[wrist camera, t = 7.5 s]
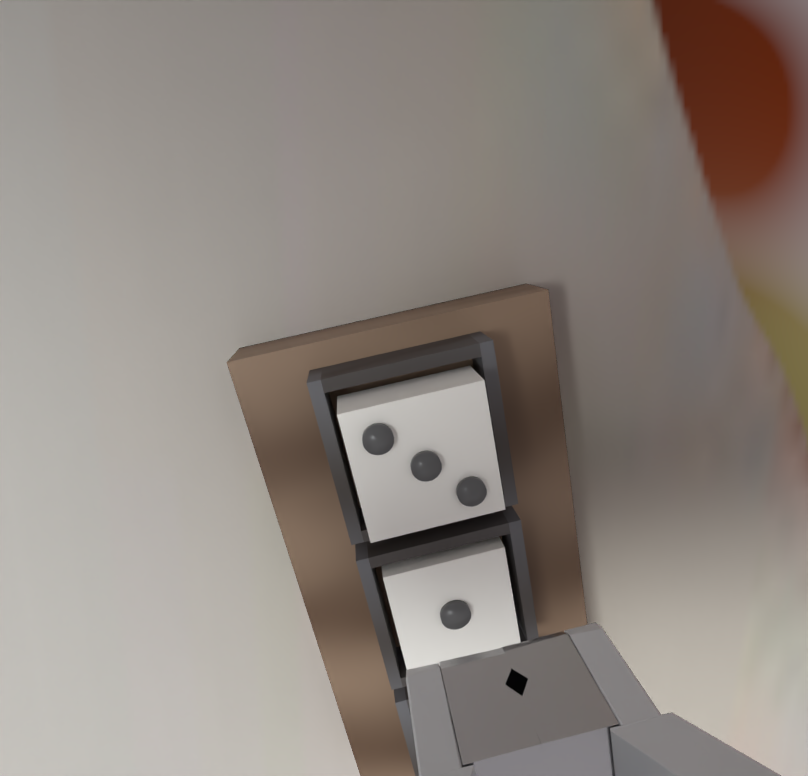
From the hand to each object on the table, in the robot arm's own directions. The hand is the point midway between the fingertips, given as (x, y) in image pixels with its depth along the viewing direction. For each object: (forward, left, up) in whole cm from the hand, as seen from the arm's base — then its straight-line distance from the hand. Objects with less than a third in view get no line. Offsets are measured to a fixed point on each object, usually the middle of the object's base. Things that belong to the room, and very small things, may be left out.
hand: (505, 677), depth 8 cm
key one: (+5, 0, -9) cm, 11 cm away
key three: (-1, 0, -8) cm, 8 cm away
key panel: (+5, 0, -11) cm, 13 cm away
